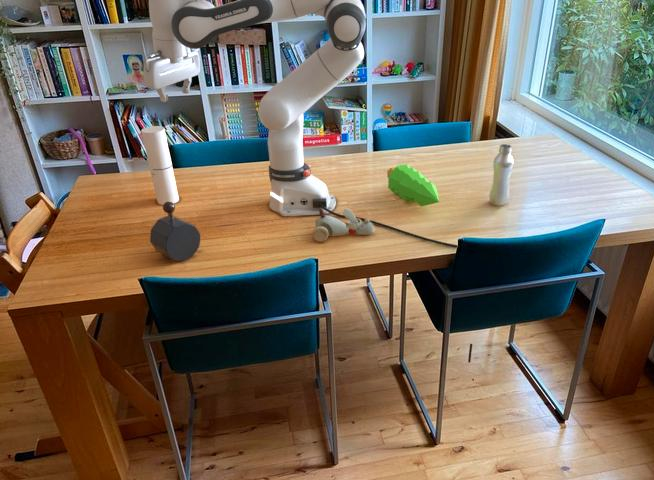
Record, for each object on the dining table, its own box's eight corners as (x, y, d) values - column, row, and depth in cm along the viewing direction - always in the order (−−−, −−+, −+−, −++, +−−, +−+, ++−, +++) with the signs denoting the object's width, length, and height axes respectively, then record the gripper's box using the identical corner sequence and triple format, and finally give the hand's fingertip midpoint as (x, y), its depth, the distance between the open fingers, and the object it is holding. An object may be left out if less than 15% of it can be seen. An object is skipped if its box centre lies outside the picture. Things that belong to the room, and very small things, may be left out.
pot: (154, 258, 156) (141, 204, 147) (187, 243, 163) (177, 191, 155) (169, 267, 152) (157, 213, 143) (203, 251, 159) (194, 199, 150)
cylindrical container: (172, 205, 186) (157, 133, 173) (153, 204, 187) (136, 132, 174) (182, 197, 192) (168, 126, 179) (163, 195, 193) (148, 125, 180)
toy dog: (377, 237, 166) (377, 210, 161) (319, 249, 159) (317, 222, 155) (361, 220, 175) (361, 194, 170) (305, 231, 169) (304, 205, 164)
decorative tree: (399, 152, 193) (448, 178, 169) (409, 178, 200) (457, 207, 176) (373, 169, 191) (418, 197, 168) (384, 195, 198) (429, 226, 175)
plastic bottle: (509, 201, 186) (518, 144, 176) (505, 209, 181) (513, 150, 170) (491, 198, 189) (498, 141, 178) (486, 205, 183) (493, 148, 173)
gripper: (153, 57, 144) (159, 109, 152) (202, 43, 160) (205, 90, 168) (134, 52, 146) (141, 104, 154) (184, 39, 161) (188, 86, 170)
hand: (175, 97), depth 161 cm, fingers open, 8 cm apart
